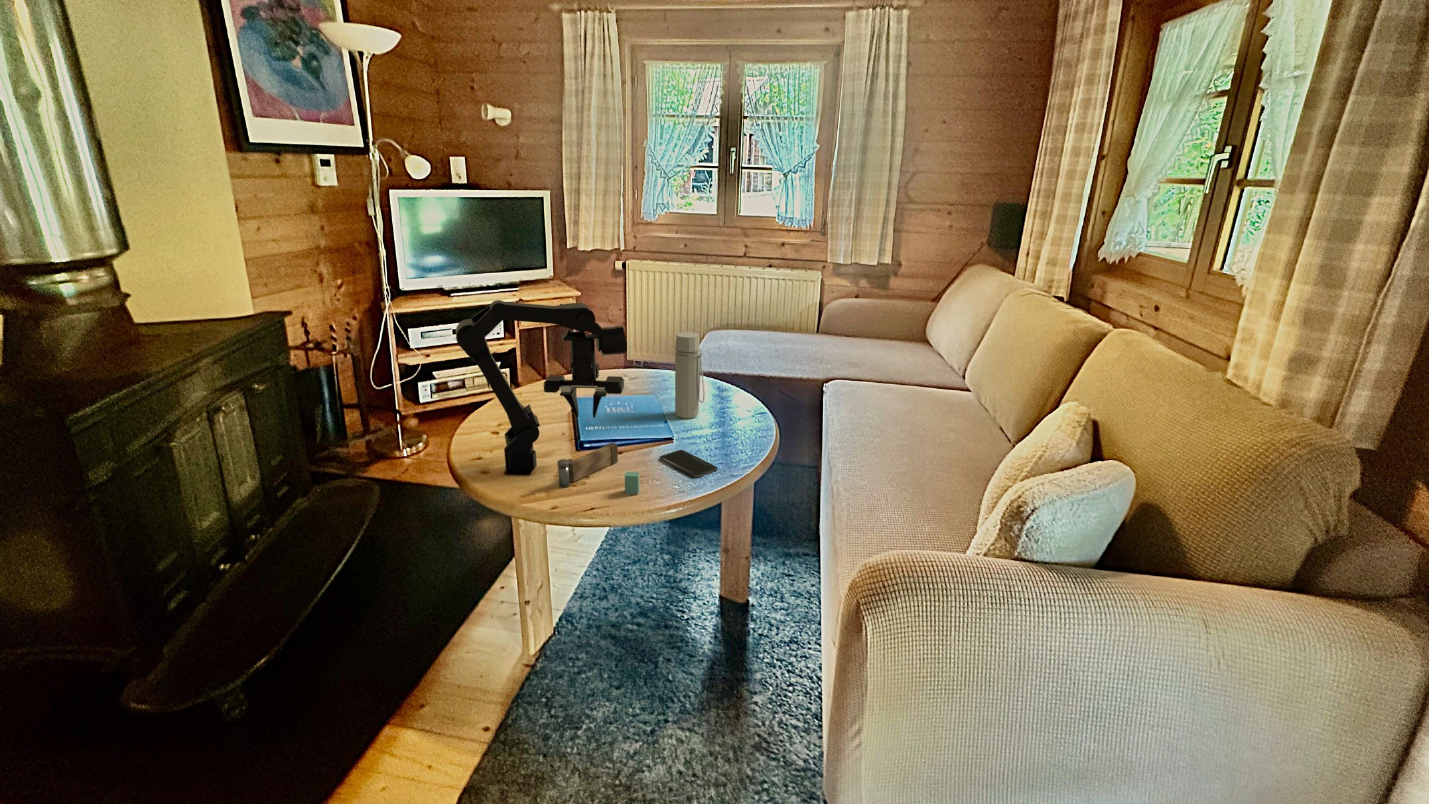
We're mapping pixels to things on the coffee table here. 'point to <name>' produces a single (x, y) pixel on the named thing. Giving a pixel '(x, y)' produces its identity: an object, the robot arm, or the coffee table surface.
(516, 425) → the robot arm
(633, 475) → the block
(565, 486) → the hinge post
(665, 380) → the coffee table surface
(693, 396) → the water bottle
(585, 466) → the gate
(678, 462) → the phone
